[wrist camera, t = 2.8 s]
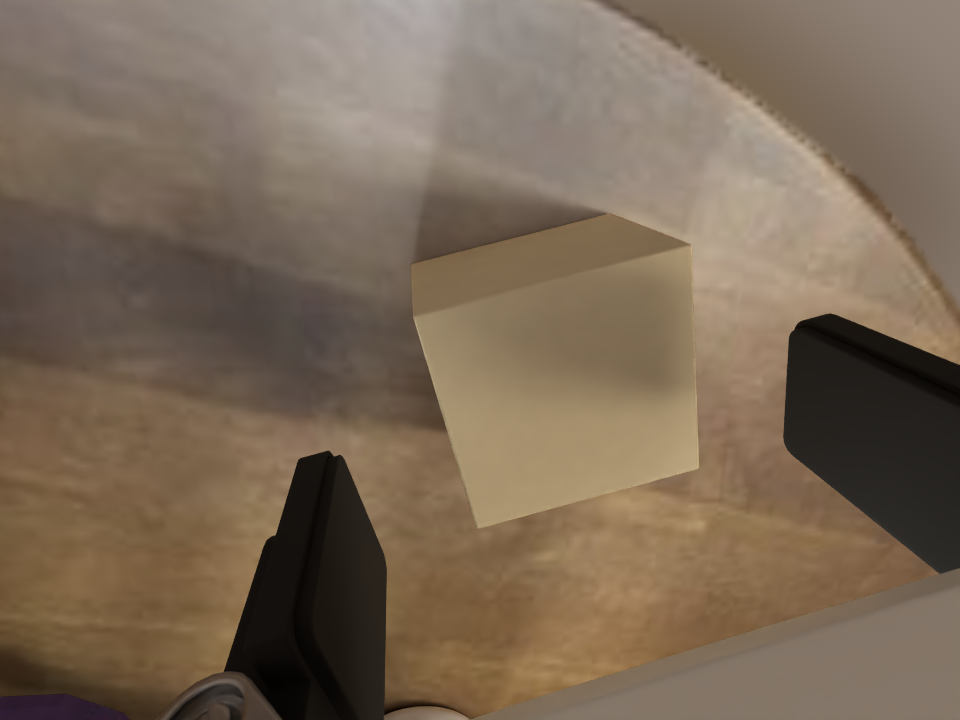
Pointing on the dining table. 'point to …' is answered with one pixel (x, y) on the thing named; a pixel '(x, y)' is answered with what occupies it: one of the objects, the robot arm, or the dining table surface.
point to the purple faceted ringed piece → (54, 708)
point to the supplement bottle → (425, 714)
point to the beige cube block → (562, 363)
